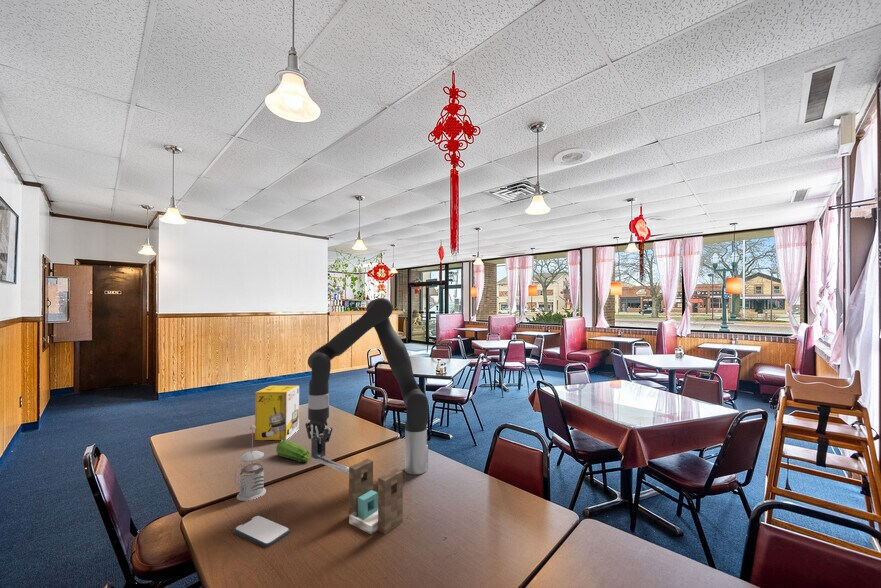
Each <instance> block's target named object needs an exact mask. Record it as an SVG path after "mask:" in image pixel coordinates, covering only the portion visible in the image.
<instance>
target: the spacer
mask: <svg viewBox="0 0 881 588" xmlns="http://www.w3.org/2000/svg"><path fill="white" fill-rule="evenodd" d="M377 511H378V491H375V490H374V489H373V490H370V491H369V492H367V493H365V494H363V495H362V496H360V497H358V517H360V518H362V519H366V518H367V517H369V516H370V515H372V514H373V513H375V512H377Z"/></svg>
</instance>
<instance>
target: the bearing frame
mask: <svg viewBox="0 0 881 588" xmlns="http://www.w3.org/2000/svg"><path fill="white" fill-rule="evenodd" d="M403 472H404V471H403V470H401V469H398V468H394V469H392V470H391V471H389V472H387V473H385V474H383V475H381V476H378V478H377V493H378V511H377V512H375V513H373V514H372V515H370V516H369V517H367V518H366V519H362V518H360V517H358V497H360V496H362V495H363V494H365V493H367V492H369V491H370V490H373V491H374V460H372V459H369V458H366V459H364V460H362V461H359V462H357V463H354V464H352V465H351V466H350V465H349V474H348V523H349V524H350V525H352V526H354V527H355V528H357V529H360V530H362V531H363V532H365V533H367V534H369V535H371V536H372V535H374V534H375V533H377V532H379V533H381V534H383V535H386V534H389V533H390V532H391V531H392V530H393V529H394V528H396V527H398V526H399V525H400V524H402V523H403V519H404V516H403V515H404V512H403V511H404V510H403V509H404V508H403V506H404V504H403V501H404V500H403V499H404V498H403V494H404V493H403V491H404V490H403V489H404V486H403V485H404V483H403V482H404V481H403V480H404V478H403V476H404V473H403ZM363 473H364V474H365V476H364V478H363V479H362V480H361V474H363Z"/></svg>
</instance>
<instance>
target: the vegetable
mask: <svg viewBox="0 0 881 588" xmlns="http://www.w3.org/2000/svg"><path fill="white" fill-rule="evenodd" d="M275 451H276V454H277V455H278V456H279V457H281V458H284V457H285V459H289V458H290V460H294V461H296V462H299V463H304V461H305V462H308V461H309V460H310V458H311V457H310V451H309V450H308V449H307V448H305V447H304V446H301V445H298V444H297V443H295V442H293V441H291V440H290V439H288V440H283V441H278V444H276V450H275Z"/></svg>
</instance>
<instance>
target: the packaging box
mask: <svg viewBox="0 0 881 588" xmlns="http://www.w3.org/2000/svg"><path fill="white" fill-rule="evenodd" d="M254 408H255V409H254V410H255V412H254V414H255V415H254V418H255V419H254V426H255V427H256V428H255V429H254V441H255V440H287V439H288V438H289V437H290V438H292V437H293V436H294V435H295V434H296V433H297V431H298V430H299V431H300V385H268V386H267V387H263V388H262V389H260V390H258V391H255V402H254ZM299 431H298V432H299ZM295 432H296V433H295ZM294 433H295V434H294ZM293 434H294V435H293ZM292 435H293V436H292ZM291 436H292V437H291ZM290 438H289V439H290ZM289 439H288V440H289Z"/></svg>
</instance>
